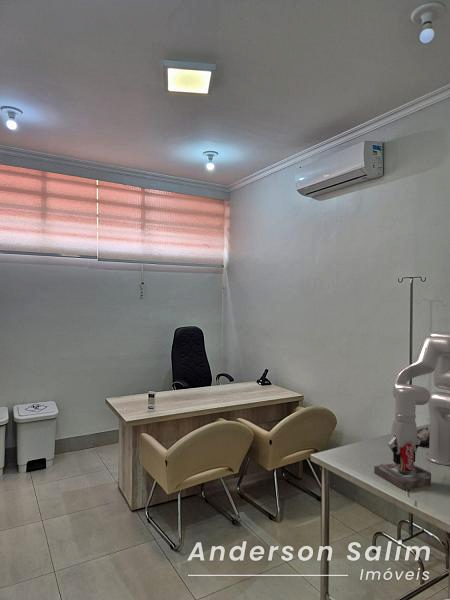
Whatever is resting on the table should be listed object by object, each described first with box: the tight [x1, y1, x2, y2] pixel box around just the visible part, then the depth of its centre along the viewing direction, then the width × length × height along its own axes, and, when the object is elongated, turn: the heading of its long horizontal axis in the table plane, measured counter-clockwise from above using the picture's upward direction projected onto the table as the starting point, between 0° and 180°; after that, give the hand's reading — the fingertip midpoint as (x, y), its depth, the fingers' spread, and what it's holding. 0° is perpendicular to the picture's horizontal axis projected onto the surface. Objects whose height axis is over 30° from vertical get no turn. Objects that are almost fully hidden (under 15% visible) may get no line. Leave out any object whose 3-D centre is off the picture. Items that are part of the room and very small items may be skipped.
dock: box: [373, 462, 432, 491], centre depth 161 cm, size 14×16×5 cm
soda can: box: [394, 442, 415, 472], centre depth 161 cm, size 7×7×12 cm
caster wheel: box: [417, 426, 430, 448], centre depth 205 cm, size 7×11×10 cm
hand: (404, 461), depth 161 cm, fingers closed on soda can, 7 cm apart
